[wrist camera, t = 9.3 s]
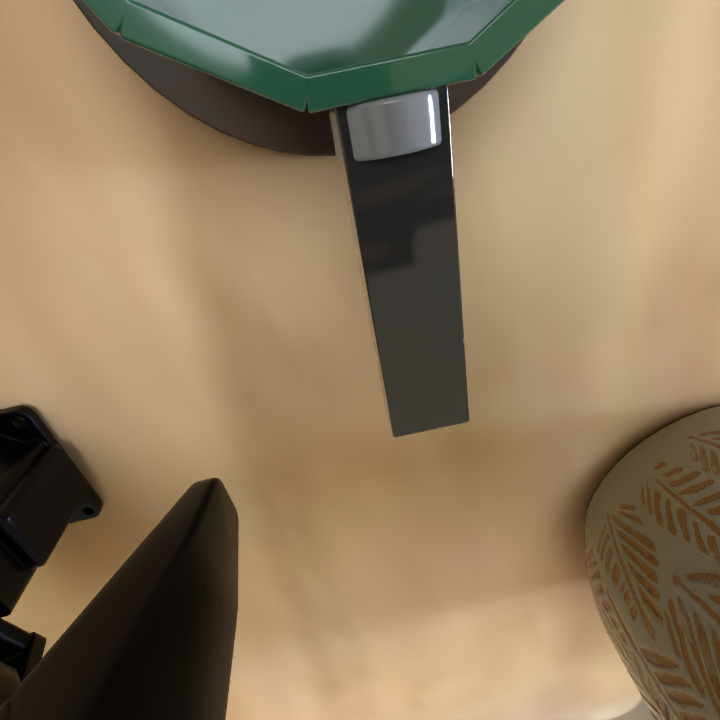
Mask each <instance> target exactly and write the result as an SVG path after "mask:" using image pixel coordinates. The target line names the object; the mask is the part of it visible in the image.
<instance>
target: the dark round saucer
mask: <svg viewBox="0 0 720 720" xmlns="http://www.w3.org/2000/svg"><path fill="white" fill-rule="evenodd" d="M73 1H74V2H75V4H76V5H77V6H78V8H79V9H80V10H81V12H82V13H83V15H84V16H85V17H86V19H87V20H88V21H89V23H90V24H91V25H92V27H93V28H94V29H95V30H96V31H97V32H98V34H99V35H100V36H101V37H102V38H103V39H104V40H105V41H106V42H107V44H108V45H109V46H110V47H111V48H112V49H113V50H114V51H115V52H116V54H117V55H118V56H119V57H120V58H121V59H122V60H123V61H124V62H125V63H126V64H127V65H128V66H129V67H130V68H131V69H132V70H133V71H135V72H136V73H137V74H138V75H139V76H140V77H141V78H142V79H143V80H144V81H146V82H147V83H148V84H149V85H150V86H151V87H152V88H153V89H154V90H155V91H157V92H158V93H160V94H161V95H162V96H164V97H165V98H166V99H168V100H169V101H171V102H172V103H173V104H175V105H176V106H177V107H179V108H180V109H182V110H183V111H184V112H186V113H187V114H189V115H191V116H192V117H194V118H196V119H198V120H200V121H201V122H203V123H205V124H207V125H208V126H210V127H212V128H214V129H216V130H217V131H219V132H222V133H224V134H227V135H229V136H231V137H234V138H236V139H239V140H241V141H244V142H246V143H249V144H251V145H255V146H259V147H263V148H267V149H270V150H274V151H278V152H282V153H290V154H299V155H307V156H336V153H335V148H334V143H333V137H332V132H331V127H330V121H329V116H328V114H329V111H330V110H325V111H320V112H315V113H308V112H307V111H306V110H305V111H304V112H300V111H298V110H295V109H293V108H290V107H288V106H285V105H283V104H280V103H278V102H275V101H273V100H270V99H268V98H265V97H263V96H260V95H258V94H255V93H253V92H250V91H248V90H246V89H243V88H241V87H238V86H236V85H233V84H231V83H228V82H226V81H223V80H221V79H218V78H216V77H213V76H211V75H208V74H206V73H203V72H201V71H198V70H196V69H193V68H191V67H189V66H186V65H184V64H181V63H179V62H176V61H174V60H171V59H169V58H166V57H164V56H161V55H159V54H156V53H154V52H151V51H149V50H146V49H144V48H141V47H139V46H137V45H134V44H132V43H129V42H127V41H124V40H123V39H122V38H121V36H120V35H117V34H115V33H113V32H111V31H110V30H109V28H108V27H107V26H106V25H105V24H104V23H103V22H102V21H101V20H100V19H99V18H98V17H97V16H96V14H95V13H94V12H93V11H92V10H91V9H90V8H89V7H88V6H87V5H86V4H85V3H84V1H83V0H73ZM525 37H526V36H525ZM525 37H524V38H525ZM524 38H523V39H524ZM523 39H522V40H521V41H520V42H519V43H517V44H516V45H515V46H514V47H513V48H512V49H511V50H510V51H509V52H508V53H507V54H505V55H504V56H503V57H502V58H501V59H500V60H499V61H498V62H497V63H496V64H495V65H493V66H492V67H491V68H490V69H489V70H488V71H487V72H486V73H485V74H484V75H482V76H478V77H476V78H475V79H474V80H471V81H466V82H461V83H456V84H451V85H448V96H449V111H450V114H451V113H453V112H454V111H456V110H457V109H458V108H459V107H461V106H462V105H463V104H464V103H465V102H466V101H468V100H469V99H470V98H471V97H472V96H473V95H475V94H476V93H477V92H478V91H479V90H480V89H482V88H483V87H484V86H485V85H486V84H487V83H488V81H489V80H490V79H491V78H492V77H493V76H494V75H495V74H496V73H497V72H498V71H499V69H500V68H501V67H502V66H503V65H504V64H505V63H506V62H507V61H508V60H509V58H510V57H511V56H512V54H513V53H514V52H515V50H516V49H517V47H518V46H519V45H520V43H521V42H522V41H523Z"/></svg>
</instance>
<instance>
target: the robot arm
mask: <svg viewBox="0 0 720 720" xmlns="http://www.w3.org/2000/svg"><path fill="white" fill-rule="evenodd" d="M18 416H20V417H22V418H24V419H25V420H22V419H20V418H19V417H18ZM102 508H103V503H102V501H101V500H100V498H99V497H98V496H97V494H96V493H95V492H94V490H93V489H92V488H91V486H90V485H89V483H88V482H87V481H86V479H85V478H84V477H83V475H82V474H81V473H80V471H79V470H78V469H77V467H76V466H75V465H74V463H73V462H72V461H71V459H70V458H69V456H68V455H67V454H66V452H65V451H64V450H63V448H62V447H61V446H60V444H59V443H58V442H57V440H56V439H55V438H54V436H53V435H52V434H51V432H50V431H49V429H48V428H47V427H46V425H45V424H44V423H43V421H42V420H41V419H40V417H39V416H38V415H37V413H36V412H35V411H34V410H33V409H31V408H29V407H26V406H16V407H11V408H7V409H3V410H0V720H225V718H226V709H227V701H228V692H229V683H230V674H231V666H232V657H233V648H234V640H235V631H236V621H237V610H238V514H237V511H236V508H235V506H234V504H233V502H232V500H231V498H230V496H229V494H228V492H227V490H226V488H225V487H224V485H223V483H222V481H221V480H220V479H218V478H210V479H206V480H202V481H198V482H195V483H194V484H192V485H191V486H190V488H189V489H188V490H187V491H186V492H185V493H184V495H183V496H182V497H181V498H180V499H179V500H178V502H177V503H176V504H175V505H174V506H173V507H172V508H171V510H170V511H169V512H168V513H167V514H166V515H165V517H164V518H163V519H162V520H161V521H160V522H159V524H158V525H157V526H156V527H155V528H154V529H153V530H152V532H151V533H150V534H149V535H148V536H147V537H146V539H145V540H144V541H143V542H142V543H141V544H140V546H139V547H138V548H137V549H136V550H135V551H134V552H133V554H132V555H131V556H130V557H129V558H128V559H127V561H126V562H125V563H124V564H123V565H122V566H121V568H120V569H119V570H118V571H117V572H116V573H115V574H114V576H113V577H112V578H111V579H110V580H109V581H108V583H107V584H106V585H105V586H104V587H103V588H102V590H101V591H100V592H99V593H98V594H97V595H96V596H95V598H94V599H93V600H92V601H91V602H90V603H89V605H88V606H87V607H86V608H85V609H84V610H83V612H82V613H81V614H80V615H79V616H78V617H77V618H76V620H75V621H74V622H73V623H72V624H71V625H70V627H69V628H68V629H67V630H66V631H65V632H64V634H63V635H62V636H61V637H60V638H59V639H58V640H57V642H56V643H55V644H54V645H53V646H52V647H51V649H50V650H49V651H48V652H47V653H46V654H45V656H44V657H43V658H42V656H43V652H44V648H45V644H46V638H45V637H43V636H41V635H39V634H37V633H35V632H32V633H28V632H26V631H25V630H23V629H21V628H19V627H17V626H15V625H13V624H11V623H9V622H7V621H5V620H4V619H2V618H1V617H5V616H8V615H10V614H11V612H12V610H13V609H14V607H15V605H16V604H17V602H18V600H19V598H20V597H21V595H22V593H23V592H24V590H25V588H26V586H27V585H28V583H29V581H30V580H31V578H32V576H33V574H34V573H35V571H36V569H37V568H38V567H41V566H44V564H45V563H46V562H47V560H48V558H49V557H50V555H51V553H52V551H53V550H54V548H55V546H56V544H57V543H58V541H59V539H60V537H61V536H62V534H63V532H64V531H65V529H66V527H67V525H68V524H69V523H73V522H77V521H81V520H86V519H90V518H94V517H96V516H98V515H99V514H100V512H101V510H102Z"/></svg>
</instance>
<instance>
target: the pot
mask: <svg viewBox="0 0 720 720" xmlns="http://www.w3.org/2000/svg"><path fill="white" fill-rule="evenodd" d="M83 1H84V3H85V4H86V5H87V6H88V7H89V8H90V9H91V10H92V11H93V12H94V13H95V14H96V16H97V17H98V18H99V19H100V20H101V21H102V22H103V23H104V24H105V25H106V26H107V27H108V28H109V30H110V31H111V32H113V33H115V34H117V35H120V36H121V38H122V39H123V40H124V41H127V42H129V43H132V44H134V45H137V46H139V47H141V48H144V49H146V50H149V51H151V52H154V53H156V54H159V55H161V56H164V57H166V58H169V59H171V60H174V61H176V62H179V63H181V64H184V65H186V66H189V67H191V68H193V69H196V70H198V71H201V72H203V73H206V74H208V75H211V76H213V77H216V78H218V79H221V80H223V81H226V82H228V83H231V84H233V85H236V86H238V87H241V88H243V89H246V90H248V91H250V92H253V93H255V94H258V95H260V96H263V97H265V98H268V99H270V100H273V101H275V102H278V103H280V104H283V105H285V106H288V107H290V108H293V109H295V110H298V111H300V112H304V111H305V110H306V111H307V112H308V113H315V112H320V111H325V110H330V111H329V114H328V116H329V121H330V127H331V132H332V137H333V143H334V148H335V153H336V158H337V159H338V161H340V165H341V170H342V176H343V181H344V187H345V192H346V197H347V203H348V208H349V214H350V219H351V225H352V230H353V236H354V241H355V246H356V252H357V257H358V263H359V268H360V274H361V279H362V285H363V290H364V295H365V301H366V306H367V312H368V317H369V323H370V328H371V334H372V339H373V345H374V350H375V355H376V361H377V366H378V372H379V377H380V383H381V388H382V394H383V399H384V404H385V408H386V412H387V416H388V419H389V423H390V427H391V430H392V434H393V436H394V437H399V436H404V435H409V434H413V433H418V432H423V431H427V430H432V429H437V428H441V427H446V426H451V425H456V424H460V423H465V422H468V421H469V410H468V395H467V379H466V363H465V347H464V332H463V316H462V300H461V285H460V269H459V253H458V237H457V222H456V206H455V190H454V174H453V159H452V143H451V127H450V111H449V96H448V85H451V84H456V83H461V82H466V81H471V80H474V79H475V78H476V77H478V76H482V75H484V74H485V73H486V72H487V71H488V70H489V69H490V68H491V67H492V66H493V65H495V64H496V63H497V62H498V61H499V60H500V59H501V58H502V57H503V56H504V55H505V54H507V53H508V52H509V51H510V50H511V49H512V48H513V47H514V46H515V45H516V44H517V43H519V42H520V41H521V40H522V39H523V38H524V37H525V36H526V35H527V34H528V33H529V32H530V31H532V30H533V29H534V28H535V27H536V26H537V25H538V24H539V23H540V22H541V21H542V20H544V19H545V18H546V17H547V16H548V15H549V14H550V13H551V12H552V11H553V10H554V9H556V8H557V7H558V6H559V5H560V4H561V3H562V2H563V1H564V0H83Z"/></svg>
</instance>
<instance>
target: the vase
mask: <svg viewBox="0 0 720 720" xmlns="http://www.w3.org/2000/svg"><path fill="white" fill-rule="evenodd" d="M585 544H586V560H587V569H588V576H589V580H590V585H591V589H592V593H593V596H594V600H595V603H596V607H597V610H598V612H599V615H600V618H601V620H602V622H603V625H604V627H605V629H606V631H607V633H608V635H609V637H610V639H611V641H612V643H613V644H614V646H615V648H616V650H617V652H618V654H619V656H620V657H621V659H622V661H623V663H624V665H625V667H626V669H627V670H628V672H629V674H630V676H631V678H632V680H633V681H634V683H635V685H636V687H637V688H638V690H639V692H640V694H641V696H642V697H643V699H644V701H645V702H646V704H647V706H648V708H649V709H650V712H651V713H652V715H653V716H654V719H655V720H720V406H717V407H713V408H709V409H706V410H702V411H700V412H697V413H695V414H692V415H689V416H687V417H684V418H682V419H680V420H678V421H676V422H674V423H672V424H670V425H668V426H666V427H664V428H662V429H661V430H659V431H658V432H656V433H654V434H653V435H651V436H650V437H648V438H646V439H645V440H644V441H642V442H641V443H640V444H638V445H637V446H636V447H635V448H633V449H632V450H631V451H629V452H628V453H627V454H626V455H625V456H624V457H623V458H622V459H621V460H620V461H619V462H618V463H617V464H616V465H615V466H614V467H613V468H612V469H611V470H610V472H609V473H608V474H607V475H606V476H605V478H604V479H603V480H602V482H601V483H600V485H599V486H598V488H597V490H596V491H595V493H594V495H593V497H592V499H591V502H590V504H589V506H588V509H587V513H586V518H585Z"/></svg>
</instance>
